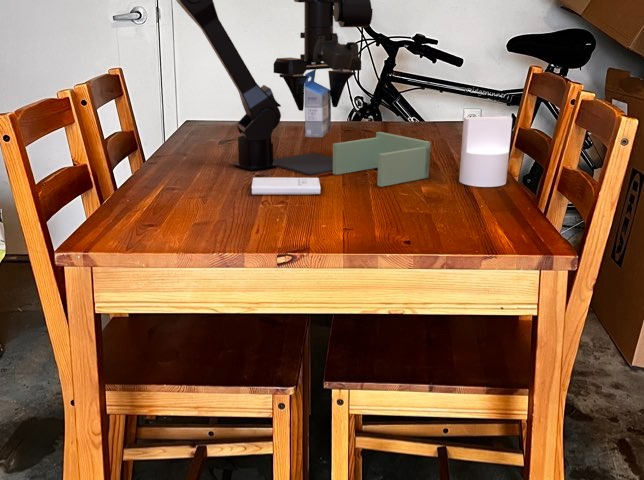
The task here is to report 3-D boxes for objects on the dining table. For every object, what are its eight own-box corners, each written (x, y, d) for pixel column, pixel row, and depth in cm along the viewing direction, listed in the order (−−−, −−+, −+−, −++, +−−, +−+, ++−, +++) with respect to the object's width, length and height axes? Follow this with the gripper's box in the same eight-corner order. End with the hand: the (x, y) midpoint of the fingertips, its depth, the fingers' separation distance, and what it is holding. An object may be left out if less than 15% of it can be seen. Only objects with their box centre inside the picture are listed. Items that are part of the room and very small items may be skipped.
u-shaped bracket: (381, 186, 153) (382, 149, 151) (332, 173, 164) (332, 138, 161) (428, 177, 161) (430, 141, 158) (379, 165, 171) (380, 131, 168)
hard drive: (253, 185, 155) (318, 185, 155) (251, 195, 147) (320, 195, 148) (252, 176, 154) (318, 176, 154) (251, 186, 146) (320, 186, 147)
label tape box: (322, 138, 166) (323, 74, 161) (303, 136, 167) (303, 73, 162) (331, 130, 174) (332, 69, 169) (312, 129, 175) (313, 69, 169)
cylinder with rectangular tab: (496, 175, 162) (502, 113, 157) (513, 186, 154) (519, 121, 149) (453, 177, 161) (457, 114, 156) (467, 187, 153) (472, 122, 148)
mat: (309, 175, 162) (309, 173, 162) (262, 162, 174) (262, 160, 174) (361, 166, 170) (361, 164, 170) (314, 154, 182) (314, 152, 182)
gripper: (306, 30, 150) (306, 117, 157) (381, 28, 161) (377, 109, 168) (271, 27, 158) (272, 110, 165) (344, 25, 169) (342, 103, 175)
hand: (318, 108), depth 168 cm, fingers closed on label tape box, 8 cm apart
